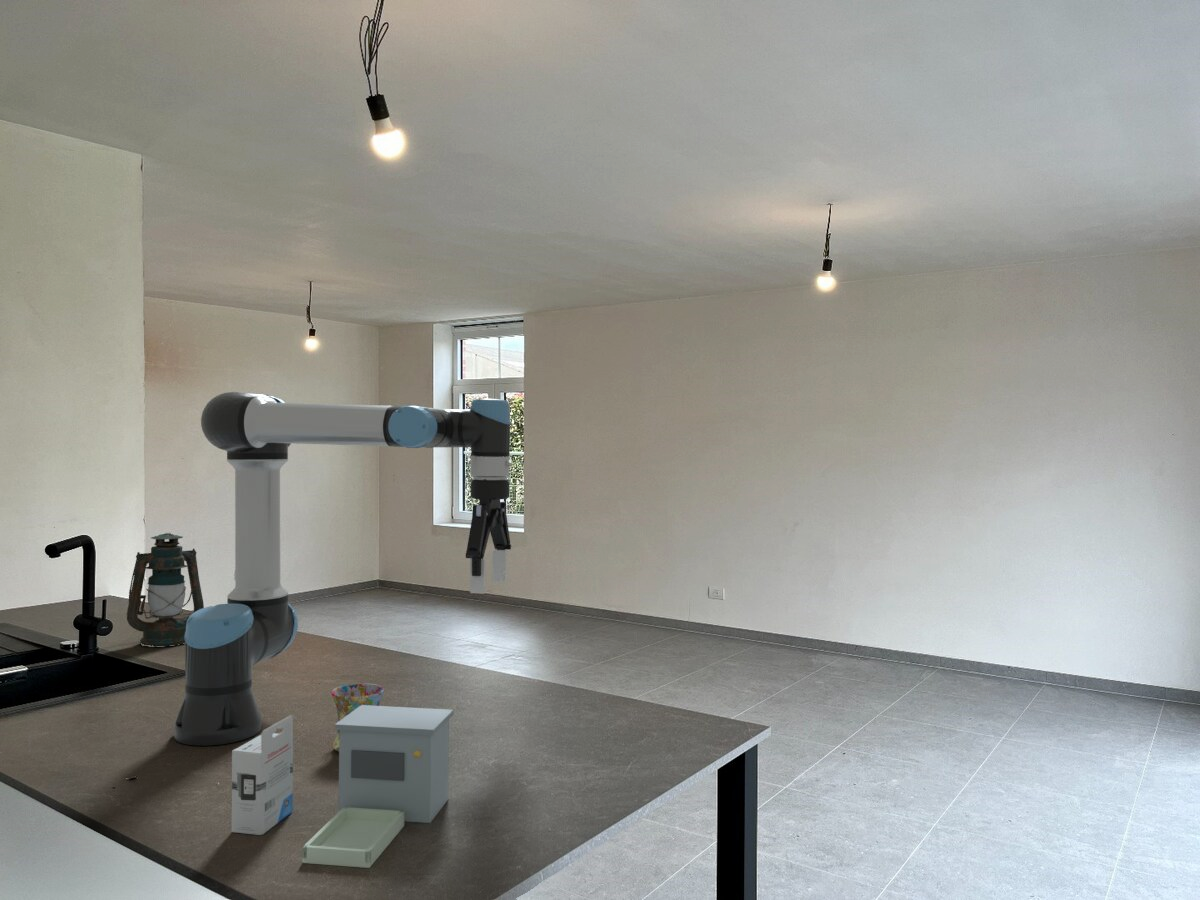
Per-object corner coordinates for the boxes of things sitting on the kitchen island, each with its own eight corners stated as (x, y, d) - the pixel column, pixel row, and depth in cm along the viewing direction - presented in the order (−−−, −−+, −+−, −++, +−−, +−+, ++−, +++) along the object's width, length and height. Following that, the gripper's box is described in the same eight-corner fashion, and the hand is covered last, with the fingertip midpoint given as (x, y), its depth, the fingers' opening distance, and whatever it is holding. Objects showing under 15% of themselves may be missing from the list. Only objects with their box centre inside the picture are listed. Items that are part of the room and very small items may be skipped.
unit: (333, 817, 133) (334, 724, 133) (360, 792, 143) (361, 704, 143) (432, 824, 131) (433, 729, 131) (452, 797, 141) (453, 709, 141)
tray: (302, 862, 119) (302, 846, 119) (343, 821, 132) (343, 806, 132) (369, 867, 117) (369, 851, 117) (404, 825, 130) (404, 811, 130)
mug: (393, 749, 163) (394, 690, 162) (345, 761, 156) (346, 700, 156) (361, 733, 171) (361, 677, 171) (314, 744, 165) (315, 686, 165)
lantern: (132, 651, 234) (133, 536, 234) (119, 642, 245) (120, 532, 245) (210, 641, 247) (211, 532, 247) (194, 633, 258) (195, 528, 258)
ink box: (264, 809, 136) (264, 711, 136) (293, 812, 135) (294, 713, 135) (229, 833, 127) (230, 728, 127) (261, 836, 126) (262, 731, 126)
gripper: (488, 481, 163) (487, 599, 163) (526, 476, 187) (524, 578, 187) (449, 480, 164) (448, 597, 164) (491, 476, 188) (490, 577, 189)
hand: (488, 587), depth 176 cm, fingers open, 13 cm apart
